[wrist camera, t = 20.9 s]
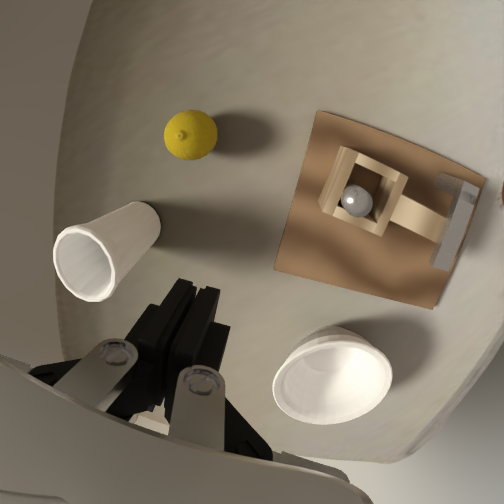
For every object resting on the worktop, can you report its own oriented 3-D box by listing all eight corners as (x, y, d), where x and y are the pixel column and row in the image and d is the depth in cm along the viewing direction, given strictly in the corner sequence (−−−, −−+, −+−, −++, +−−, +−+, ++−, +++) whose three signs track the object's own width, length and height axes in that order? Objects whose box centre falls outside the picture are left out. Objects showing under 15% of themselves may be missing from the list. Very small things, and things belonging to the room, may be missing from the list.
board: (317, 110, 33) (318, 110, 32) (480, 176, 33) (485, 178, 32) (273, 265, 41) (273, 269, 39) (429, 305, 40) (432, 309, 39)
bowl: (332, 397, 48) (336, 436, 41) (254, 358, 47) (248, 398, 39) (399, 335, 43) (416, 372, 35) (320, 283, 41) (327, 319, 33)
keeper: (437, 171, 32) (464, 180, 26) (452, 178, 32) (479, 188, 26) (412, 245, 36) (432, 266, 30) (426, 250, 36) (448, 271, 30)
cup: (105, 220, 41) (41, 260, 27) (139, 181, 38) (75, 208, 25) (143, 262, 42) (91, 316, 29) (180, 227, 40) (132, 274, 27)
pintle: (337, 175, 34) (349, 185, 28) (360, 182, 34) (376, 193, 28) (330, 197, 35) (340, 212, 29) (353, 204, 35) (367, 220, 29)
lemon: (170, 129, 35) (143, 130, 28) (207, 103, 34) (187, 96, 26) (194, 165, 37) (172, 174, 29) (232, 140, 35) (218, 142, 28)
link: (317, 201, 36) (322, 211, 31) (340, 146, 33) (349, 148, 28) (432, 252, 36) (448, 267, 32) (455, 204, 34) (474, 215, 29)
